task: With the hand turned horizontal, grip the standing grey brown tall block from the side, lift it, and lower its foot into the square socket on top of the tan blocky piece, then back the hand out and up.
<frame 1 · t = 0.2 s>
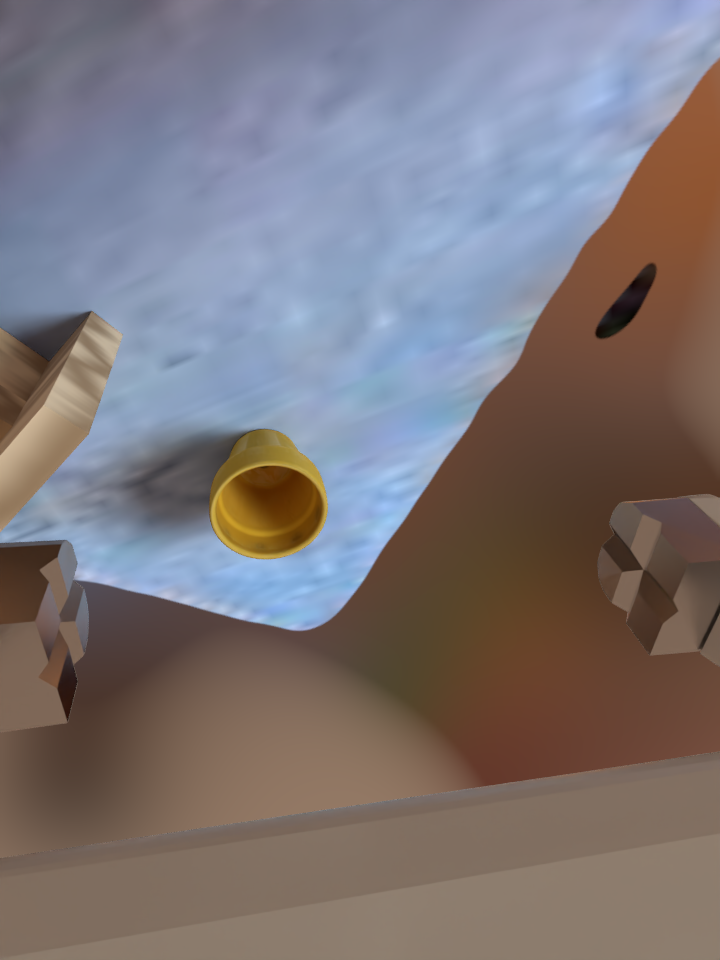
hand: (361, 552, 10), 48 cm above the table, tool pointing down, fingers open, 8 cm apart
plant pot: (262, 456, 63), on the table
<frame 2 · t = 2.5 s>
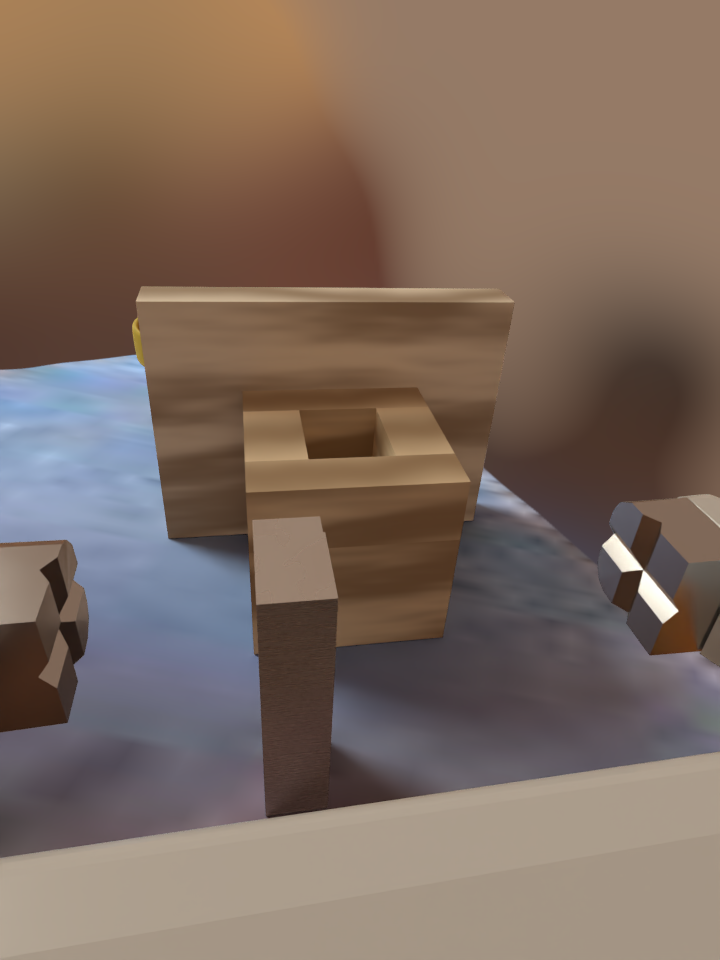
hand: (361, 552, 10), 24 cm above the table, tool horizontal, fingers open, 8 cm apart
tan blocky piece: (337, 580, 45), on the table
grey brown tall block: (293, 774, 33), on the table
plant pot: (198, 416, 65), on the table
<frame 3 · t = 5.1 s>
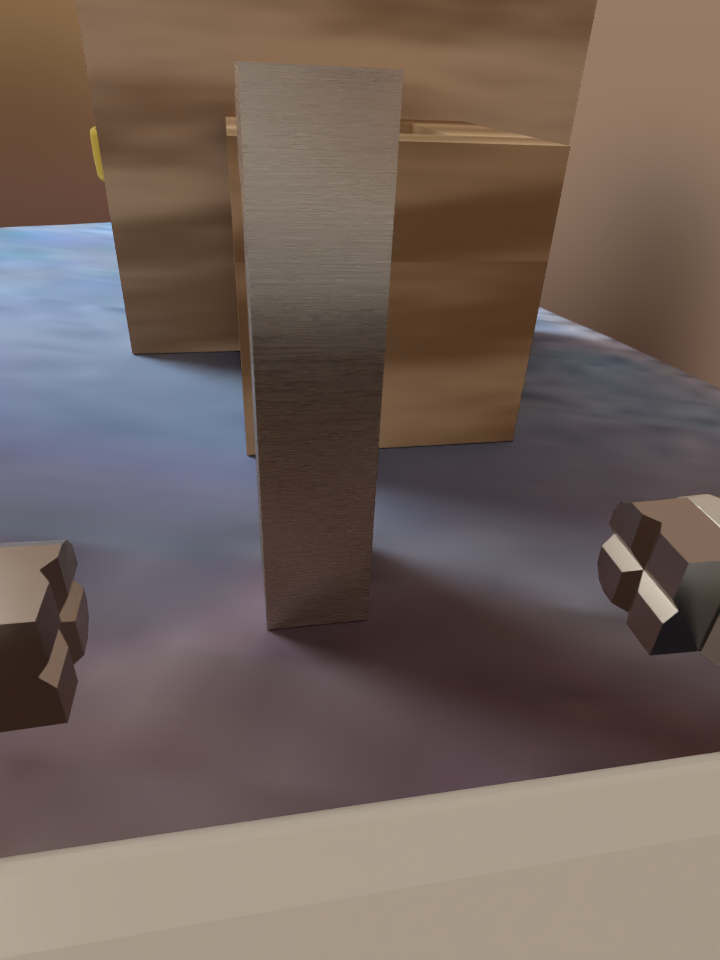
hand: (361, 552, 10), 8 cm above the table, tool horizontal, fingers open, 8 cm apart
tan blocky piece: (360, 390, 33), on the table
grey brown tall block: (310, 579, 21), on the table
plant pot: (178, 265, 53), on the table
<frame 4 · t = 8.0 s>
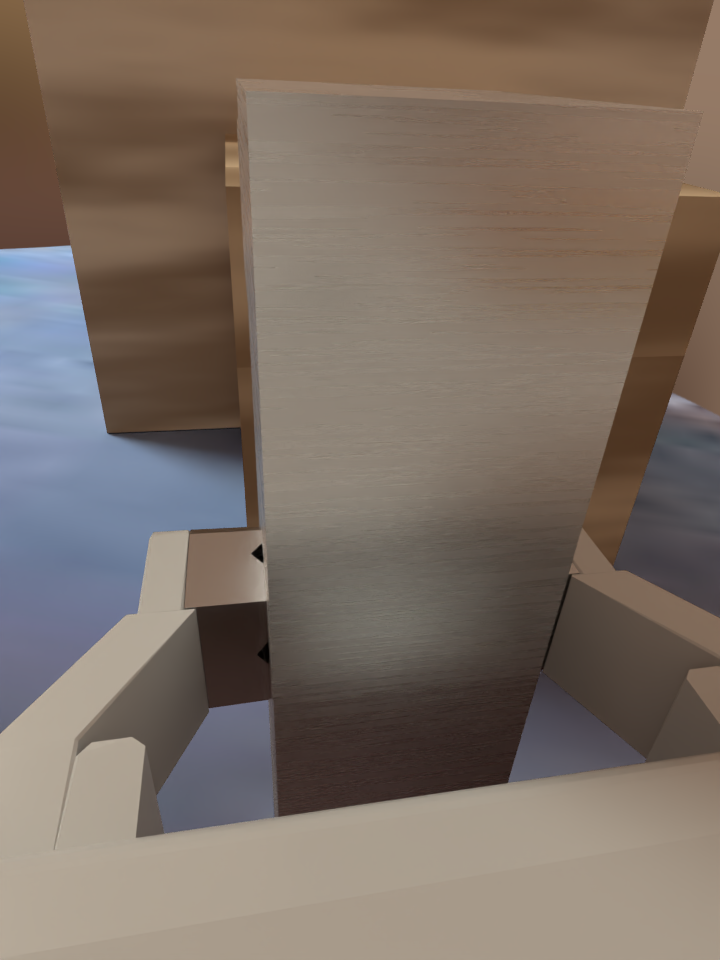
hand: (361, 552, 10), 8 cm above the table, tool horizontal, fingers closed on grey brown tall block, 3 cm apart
tan blocky piece: (398, 490, 26), on the table
grey brown tall block: (352, 880, 13), on the table, touching gripper
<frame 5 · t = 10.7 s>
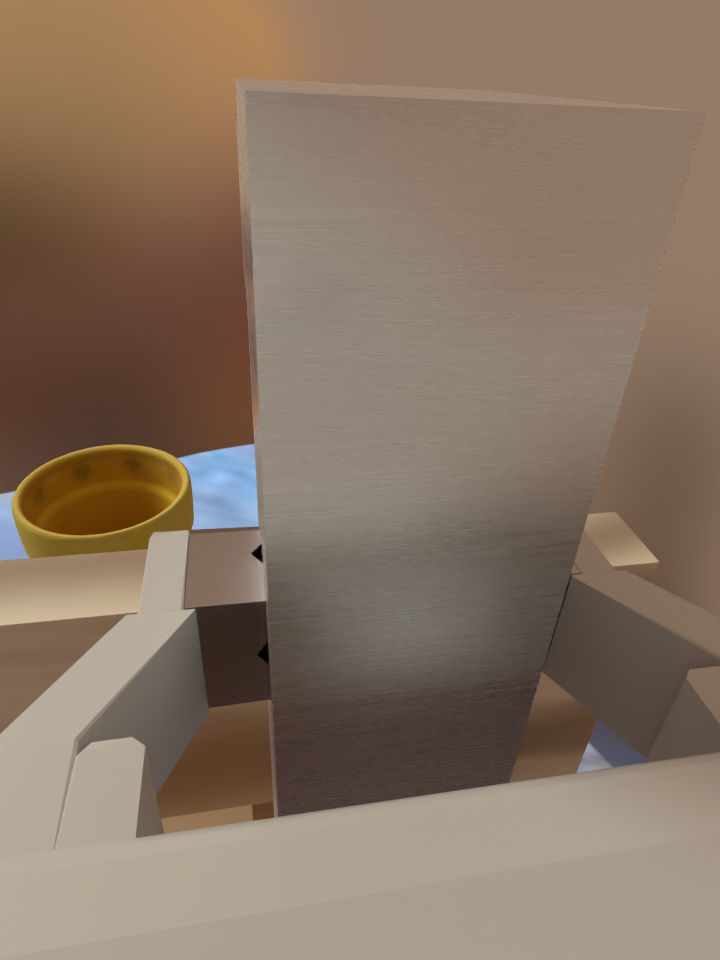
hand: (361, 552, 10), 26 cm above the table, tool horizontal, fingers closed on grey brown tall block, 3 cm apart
grey brown tall block: (352, 883, 13), point 18 cm above the table, touching gripper
plant pot: (128, 603, 45), on the table
when the fingers open (17 cm above the table, at t = 13.7 s): grey brown tall block stays where it is, resting on tan blocky piece.
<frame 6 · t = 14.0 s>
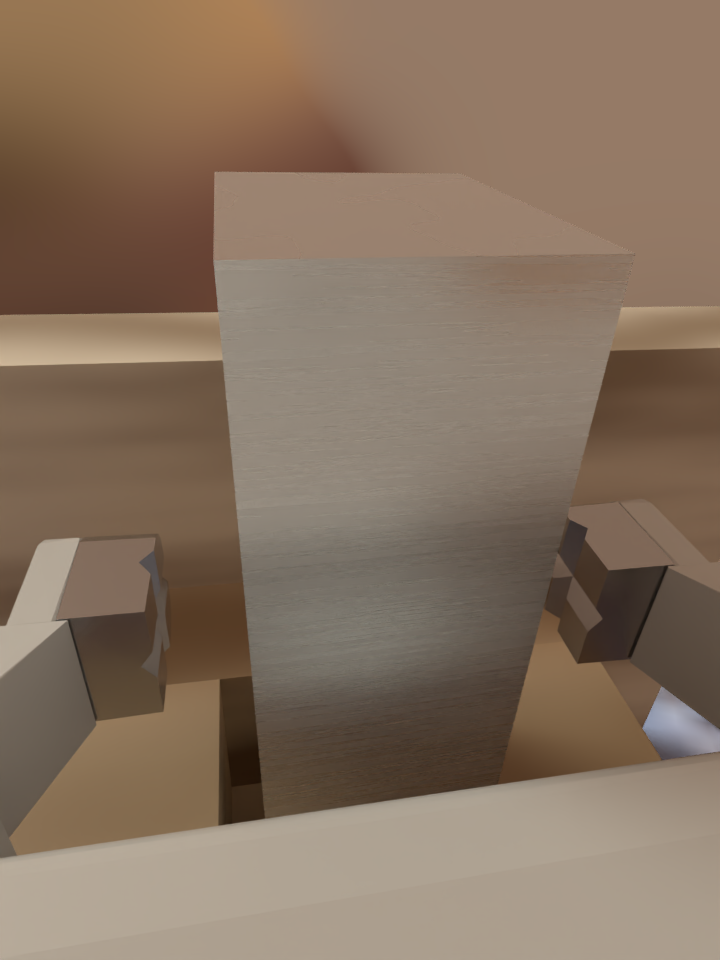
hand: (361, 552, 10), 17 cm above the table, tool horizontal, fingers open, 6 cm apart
grey brown tall block: (347, 904, 14), point 8 cm above the table, touching tan blocky piece
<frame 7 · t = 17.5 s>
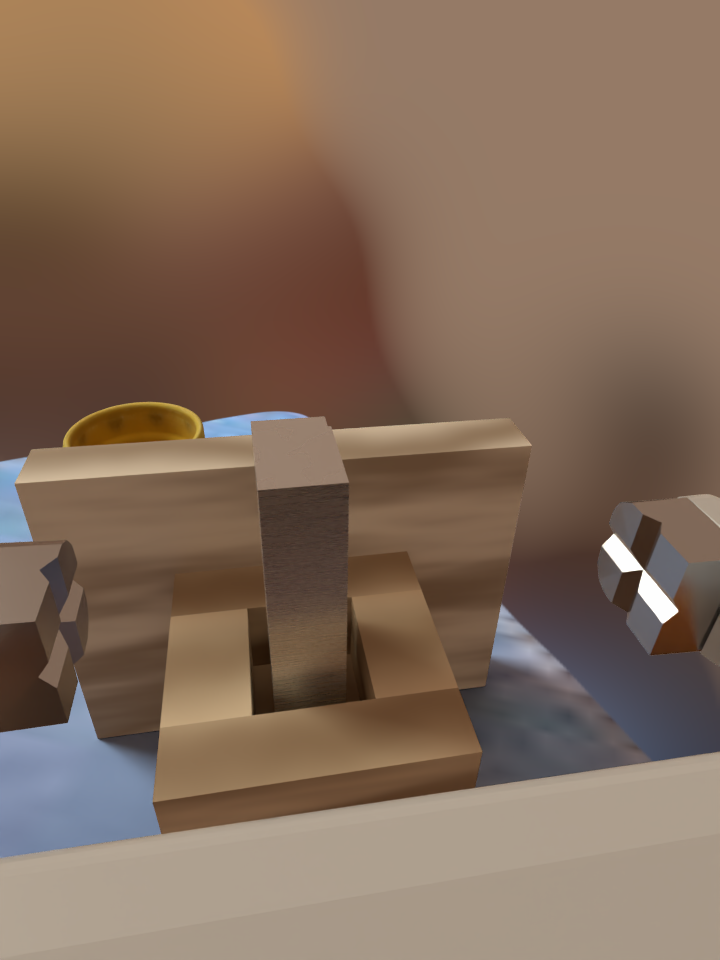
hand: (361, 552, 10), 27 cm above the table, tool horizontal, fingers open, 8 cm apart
tan blocky piece: (312, 803, 34), on the table
grey brown tall block: (306, 710, 30), point 8 cm above the table, touching tan blocky piece
plant pot: (154, 532, 54), on the table
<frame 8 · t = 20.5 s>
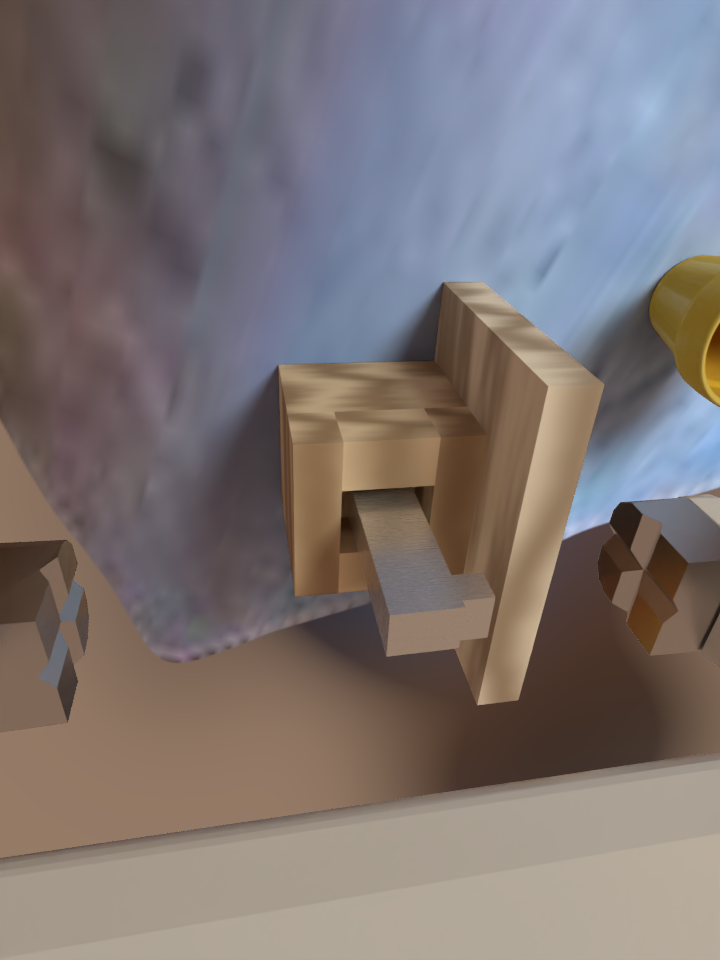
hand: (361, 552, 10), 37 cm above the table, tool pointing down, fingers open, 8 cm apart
tan blocky piece: (354, 432, 51), on the table
grey brown tall block: (373, 485, 45), point 8 cm above the table, touching tan blocky piece
plant pot: (685, 298, 50), on the table
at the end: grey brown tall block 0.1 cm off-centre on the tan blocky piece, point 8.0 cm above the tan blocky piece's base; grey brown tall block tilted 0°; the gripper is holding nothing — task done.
